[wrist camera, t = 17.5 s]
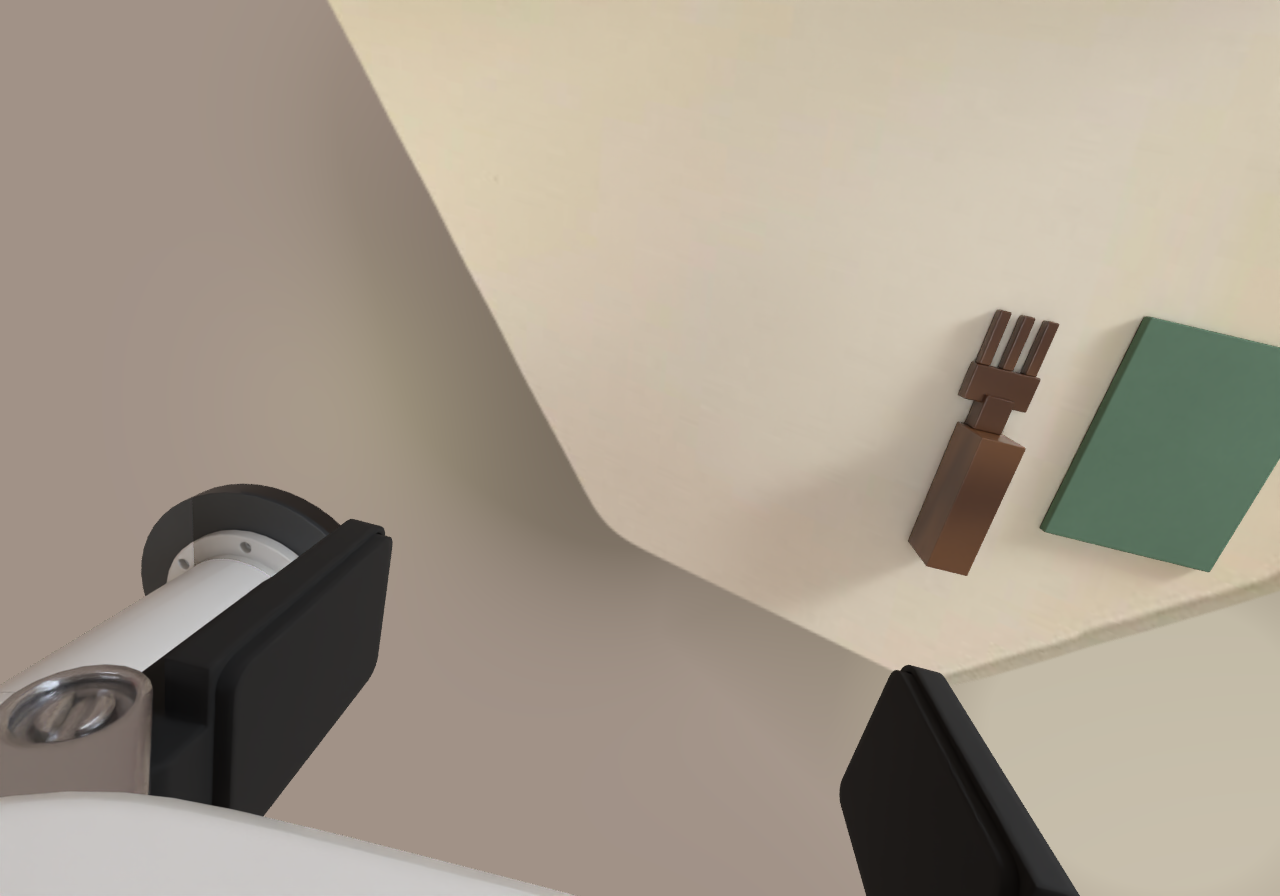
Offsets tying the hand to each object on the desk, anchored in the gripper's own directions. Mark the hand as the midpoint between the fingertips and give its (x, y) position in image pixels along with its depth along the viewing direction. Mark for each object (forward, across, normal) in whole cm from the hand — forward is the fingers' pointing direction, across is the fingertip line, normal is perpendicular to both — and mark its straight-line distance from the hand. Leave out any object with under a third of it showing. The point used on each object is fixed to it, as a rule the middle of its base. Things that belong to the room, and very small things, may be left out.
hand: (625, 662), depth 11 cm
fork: (+26, -18, -1) cm, 31 cm away
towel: (+26, -29, -4) cm, 39 cm away
